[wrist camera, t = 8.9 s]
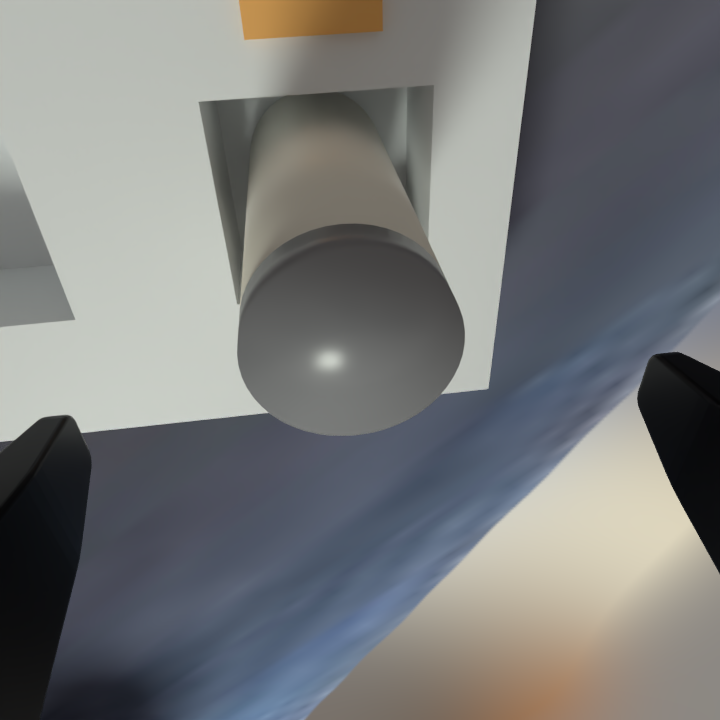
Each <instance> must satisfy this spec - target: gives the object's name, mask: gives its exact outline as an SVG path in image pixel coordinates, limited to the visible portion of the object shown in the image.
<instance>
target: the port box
mask: <svg viewBox="0 0 720 720" xmlns="http://www.w3.org/2000/svg"><path fill="white" fill-rule="evenodd" d="M535 7H536V0H0V442H2V441H11V440H15V439H17V438H18V437H19V436H20V435H21V434H22V433H24V432H25V431H26V430H27V429H28V428H29V427H31V426H32V425H33V424H34V423H35V422H36V421H38V420H39V419H41V418H43V417H47V416H57V415H70V416H72V417H73V418H74V419H75V421H76V423H77V425H78V427H79V429H80V432H81V433H85V432H94V431H104V430H113V429H122V428H131V427H141V426H150V425H159V424H168V423H178V422H187V421H196V420H205V419H215V418H224V417H233V416H242V415H252V414H261V413H269V412H267V411H266V410H265V409H264V408H263V407H262V406H261V405H260V404H259V403H258V402H257V401H256V400H255V399H254V398H253V396H252V395H251V393H250V392H249V390H248V389H247V387H246V385H245V383H244V381H243V379H242V376H241V373H240V369H239V366H238V358H237V343H238V327H239V312H240V297H241V282H242V267H243V252H244V237H245V222H246V207H247V192H248V177H249V162H250V147H251V141H252V136H253V133H254V130H255V128H256V126H257V124H258V122H259V120H260V118H261V117H262V116H263V114H264V113H265V112H266V111H267V109H268V108H269V107H270V106H271V105H273V104H274V103H275V102H276V101H277V100H279V99H281V98H282V97H284V96H287V95H301V94H316V93H330V92H338V93H341V94H343V95H345V96H347V97H349V98H350V99H352V100H353V101H355V102H356V103H357V104H358V105H360V106H361V107H362V108H363V109H364V111H365V112H366V113H367V114H368V116H369V117H370V118H371V120H372V122H373V124H374V126H375V128H376V130H377V132H378V134H379V136H380V138H381V140H382V142H383V145H384V147H385V149H386V151H387V153H388V155H389V158H390V160H391V162H392V164H393V166H394V168H395V170H396V173H397V175H398V177H399V179H400V181H401V183H402V185H403V188H404V190H405V192H406V194H407V196H408V198H409V200H410V203H411V205H412V207H413V209H414V211H415V213H416V215H417V218H418V220H419V222H420V224H421V226H422V228H423V230H424V233H425V235H426V237H427V239H428V241H429V243H430V245H431V248H432V250H433V252H434V254H435V256H436V258H437V260H438V263H439V265H440V267H441V269H442V271H443V273H444V275H445V278H446V280H447V282H448V284H449V286H450V288H451V291H452V293H453V295H454V297H455V299H456V301H457V303H458V306H459V308H460V311H461V314H462V317H463V322H464V328H465V344H464V350H463V355H462V358H461V361H460V365H459V367H458V369H457V371H456V373H455V375H454V377H453V379H452V380H451V382H450V383H449V385H448V386H447V387H446V389H445V390H444V391H443V392H442V393H441V394H446V393H455V392H464V391H473V390H483V389H488V387H489V379H490V371H491V363H492V355H493V347H494V339H495V330H496V322H497V314H498V306H499V298H500V290H501V282H502V274H503V266H504V258H505V250H506V242H507V234H508V225H509V217H510V209H511V201H512V193H513V185H514V177H515V169H516V161H517V153H518V145H519V137H520V129H521V120H522V112H523V104H524V96H525V88H526V80H527V72H528V64H529V56H530V48H531V40H532V32H533V24H534V15H535Z"/></svg>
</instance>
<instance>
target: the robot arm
mask: <svg viewBox="0 0 720 720" xmlns="http://www.w3.org/2000/svg"><path fill="white" fill-rule="evenodd" d="M637 400H638V406H639V409H640V412H641V414H642V416H643V419H644V421H645V424H646V426H647V428H648V431H649V433H650V436H651V438H652V441H653V443H654V445H655V448H656V450H657V453H658V455H659V457H660V460H661V462H662V464H663V467H664V469H665V472H666V474H667V476H668V479H669V481H670V483H671V485H672V487H673V489H674V491H675V493H676V495H677V497H678V499H679V501H680V503H681V505H682V506H683V508H684V510H685V512H686V513H687V515H688V517H689V519H690V521H691V523H692V524H693V526H694V528H695V530H696V532H697V533H698V535H699V537H700V539H701V541H702V542H703V544H704V546H705V548H706V550H707V552H708V553H709V555H710V557H711V559H712V561H713V562H714V564H715V566H716V568H717V570H718V572H719V573H720V371H718V370H715V369H713V368H711V367H709V366H707V365H705V364H703V363H701V362H699V361H697V360H695V359H693V358H691V357H689V356H686V355H684V354H682V353H679V352H671V353H661V354H655V355H653V356H652V357H651V358H650V359H649V361H648V363H647V366H646V369H645V372H644V376H643V379H642V382H641V385H640V388H639V391H638V397H637ZM90 475H91V455H90V452H89V449H88V447H87V445H86V443H85V440H84V438H83V436H82V434H81V432H80V429H79V427H78V425H77V423H76V421H75V419H74V418H73V417H72V416H70V415H57V416H47V417H43V418H41V419H39V420H38V421H36V422H35V423H34V424H33V425H32V426H31V427H29V428H28V429H27V430H26V431H25V432H24V433H22V434H21V435H20V436H19V437H18V438H17V439H15V440H14V441H13V442H12V443H11V444H10V445H8V446H7V447H6V448H5V449H4V450H3V451H1V452H0V720H40V716H41V712H42V708H43V704H44V700H45V696H46V692H47V688H48V684H49V680H50V676H51V672H52V668H53V664H54V660H55V656H56V652H57V648H58V644H59V640H60V636H61V632H62V629H63V625H64V621H65V617H66V613H67V609H68V605H69V601H70V597H71V593H72V589H73V585H74V581H75V577H76V572H77V568H78V563H79V559H80V553H81V546H82V539H83V531H84V523H85V515H86V507H87V499H88V491H89V483H90Z"/></svg>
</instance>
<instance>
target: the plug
mask: <svg viewBox="0 0 720 720" xmlns="http://www.w3.org/2000/svg"><path fill="white" fill-rule="evenodd" d="M464 344H465V328H464V322H463V317H462V314H461V311H460V308H459V306H458V303H457V301H456V299H455V297H454V295H453V293H452V291H451V288H450V286H449V284H448V282H447V280H446V278H445V275H444V273H443V271H442V269H441V267H440V265H439V263H438V260H437V258H436V256H435V254H434V252H433V250H432V248H431V245H430V243H429V241H428V239H427V237H426V235H425V233H424V230H423V228H422V226H421V224H420V222H419V220H418V218H417V215H416V213H415V211H414V209H413V207H412V205H411V203H410V200H409V198H408V196H407V194H406V192H405V190H404V188H403V185H402V183H401V181H400V179H399V177H398V175H397V173H396V170H395V168H394V166H393V164H392V162H391V160H390V158H389V155H388V153H387V151H386V149H385V147H384V145H383V142H382V140H381V138H380V136H379V134H378V132H377V130H376V128H375V126H374V124H373V122H372V120H371V118H370V117H369V116H368V114H367V113H366V112H365V111H364V109H363V108H362V107H361V106H360V105H358V104H357V103H356V102H355V101H353V100H352V99H350V98H349V97H347V96H345V95H343V94H341V93H338V92H330V93H316V94H301V95H287V96H284V97H282V98H281V99H279V100H277V101H276V102H275V103H274V104H273V105H271V106H270V107H269V108H268V109H267V111H266V112H265V113H264V114H263V116H262V117H261V118H260V120H259V122H258V124H257V126H256V128H255V130H254V133H253V136H252V141H251V147H250V162H249V177H248V192H247V207H246V222H245V237H244V252H243V267H242V282H241V297H240V312H239V327H238V343H237V358H238V366H239V369H240V373H241V376H242V379H243V381H244V383H245V385H246V387H247V389H248V390H249V392H250V393H251V395H252V396H253V398H254V399H255V400H256V401H257V402H258V403H259V404H260V405H261V406H262V407H263V408H264V409H265V410H266V411H267V412H269V413H270V414H271V415H273V416H274V417H276V418H277V419H279V420H281V421H282V422H284V423H286V424H289V425H291V426H293V427H295V428H298V429H301V430H304V431H308V432H312V433H317V434H323V435H331V436H350V435H361V434H367V433H372V432H376V431H380V430H384V429H387V428H389V427H392V426H395V425H397V424H399V423H402V422H404V421H406V420H408V419H410V418H411V417H413V416H415V415H416V414H418V413H420V412H421V411H422V410H424V409H425V408H426V407H428V406H429V405H430V404H431V403H432V402H433V401H434V400H436V399H437V398H438V397H439V396H440V394H441V393H442V392H443V391H444V390H445V389H446V387H447V386H448V385H449V383H450V382H451V380H452V379H453V377H454V375H455V373H456V371H457V369H458V367H459V365H460V361H461V358H462V355H463V350H464Z"/></svg>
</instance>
